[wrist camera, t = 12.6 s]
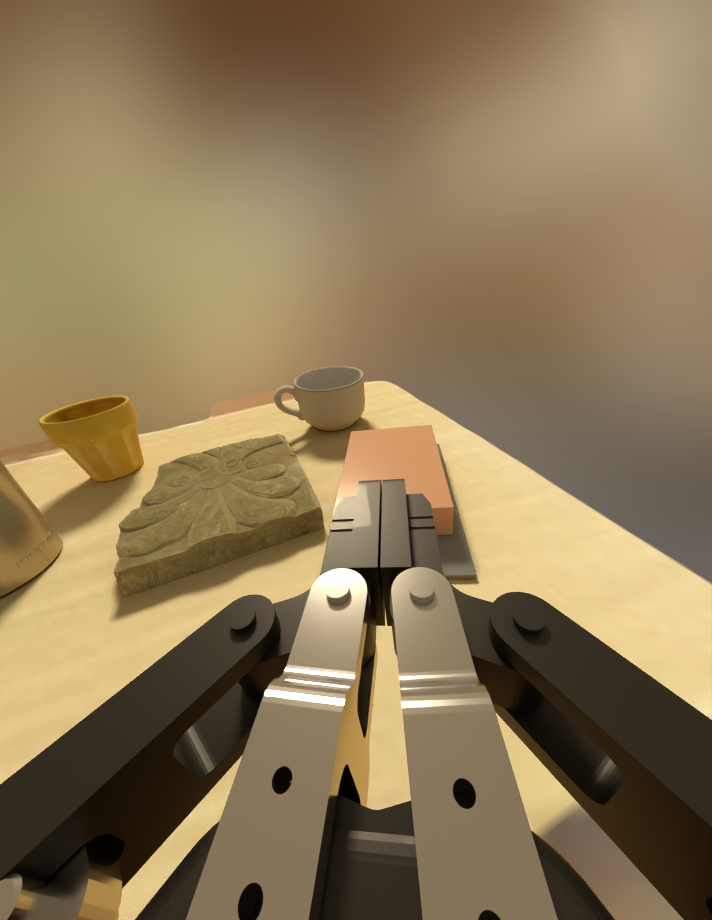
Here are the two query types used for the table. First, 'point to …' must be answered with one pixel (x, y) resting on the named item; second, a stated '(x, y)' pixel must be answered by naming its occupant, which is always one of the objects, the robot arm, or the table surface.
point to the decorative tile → (215, 512)
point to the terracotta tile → (400, 467)
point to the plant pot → (97, 436)
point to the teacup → (326, 397)
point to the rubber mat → (452, 545)
